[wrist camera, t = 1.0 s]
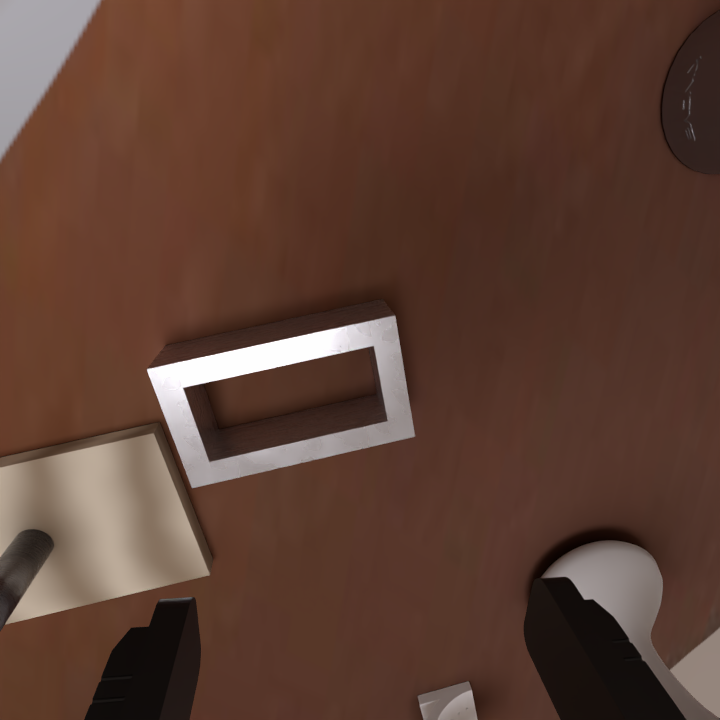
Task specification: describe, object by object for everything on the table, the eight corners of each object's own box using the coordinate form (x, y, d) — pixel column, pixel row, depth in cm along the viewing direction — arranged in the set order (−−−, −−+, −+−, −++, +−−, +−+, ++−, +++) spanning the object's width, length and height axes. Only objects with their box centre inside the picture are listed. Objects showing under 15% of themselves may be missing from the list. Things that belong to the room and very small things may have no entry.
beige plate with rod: (159, 422, 32) (97, 536, 22) (213, 559, 36) (181, 707, 26) (-89, 477, 31) (-276, 623, 21) (-3, 611, 35) (-122, 785, 25)
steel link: (382, 298, 31) (395, 315, 27) (401, 408, 34) (415, 436, 30) (164, 345, 30) (146, 369, 26) (203, 453, 33) (192, 488, 29)
